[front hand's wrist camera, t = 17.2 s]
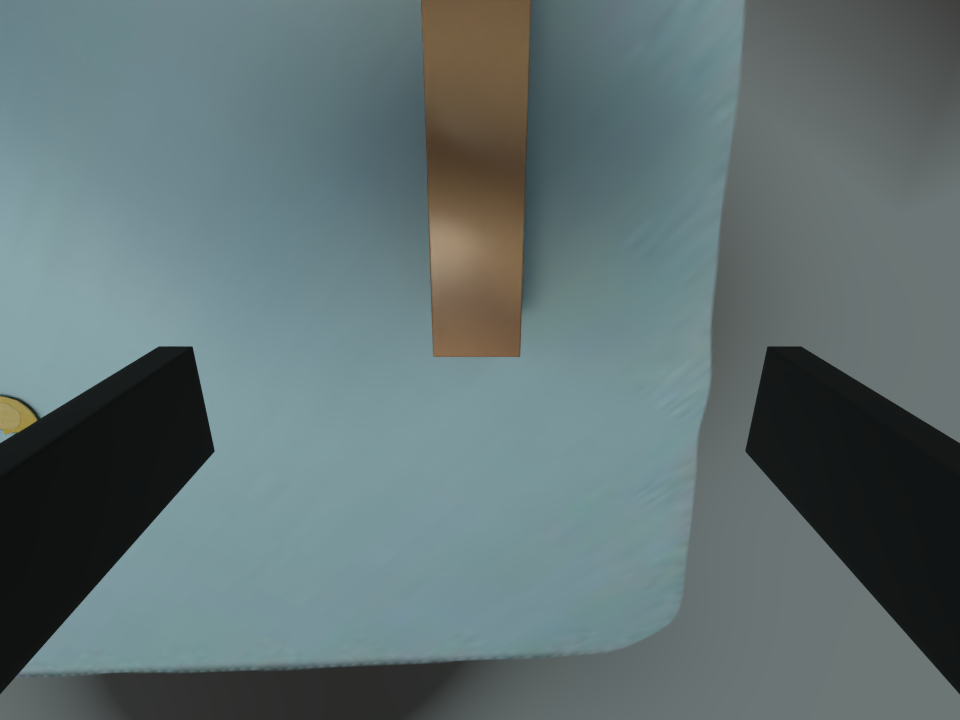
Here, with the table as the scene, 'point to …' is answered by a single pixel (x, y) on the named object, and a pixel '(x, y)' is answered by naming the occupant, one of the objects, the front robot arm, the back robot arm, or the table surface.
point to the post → (476, 171)
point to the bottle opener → (14, 415)
